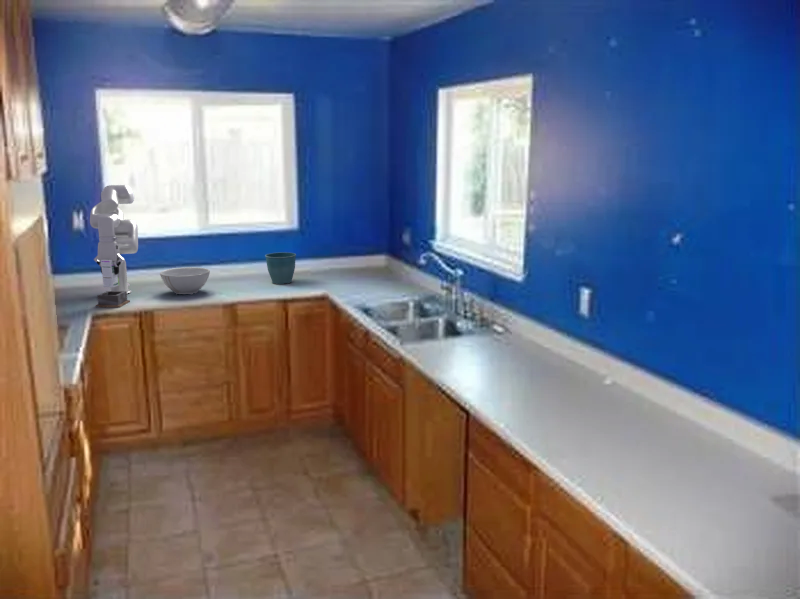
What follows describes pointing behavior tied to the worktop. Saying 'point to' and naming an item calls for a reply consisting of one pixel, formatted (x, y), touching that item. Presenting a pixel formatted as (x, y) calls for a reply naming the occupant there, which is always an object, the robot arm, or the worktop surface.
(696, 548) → the worktop surface
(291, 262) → the flower pot
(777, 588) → the worktop surface
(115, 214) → the robot arm
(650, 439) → the worktop surface
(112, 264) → the syrup box
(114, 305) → the dark grey open box
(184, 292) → the decorative bowl
